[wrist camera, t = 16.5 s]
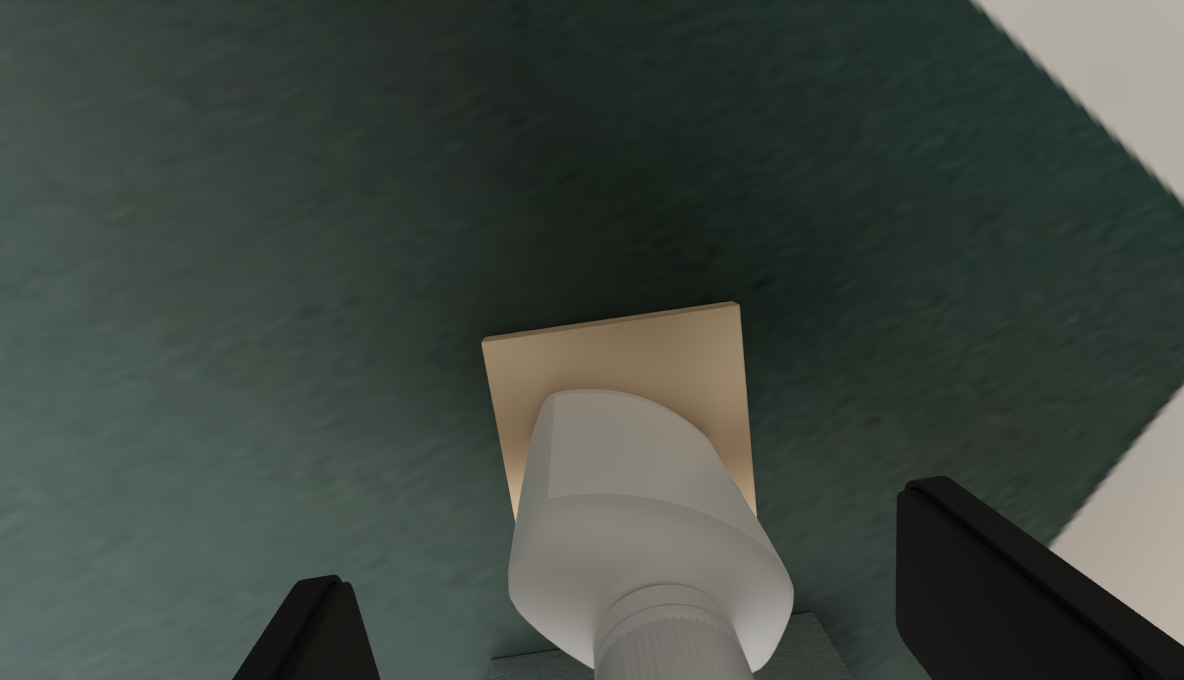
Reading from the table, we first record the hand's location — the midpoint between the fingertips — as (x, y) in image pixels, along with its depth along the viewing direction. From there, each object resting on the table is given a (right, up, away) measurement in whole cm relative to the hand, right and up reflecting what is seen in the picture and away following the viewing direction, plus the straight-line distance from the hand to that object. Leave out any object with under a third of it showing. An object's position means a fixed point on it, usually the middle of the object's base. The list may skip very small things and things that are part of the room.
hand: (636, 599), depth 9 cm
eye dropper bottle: (0, +1, +9) cm, 9 cm away
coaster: (0, +1, +9) cm, 9 cm away
